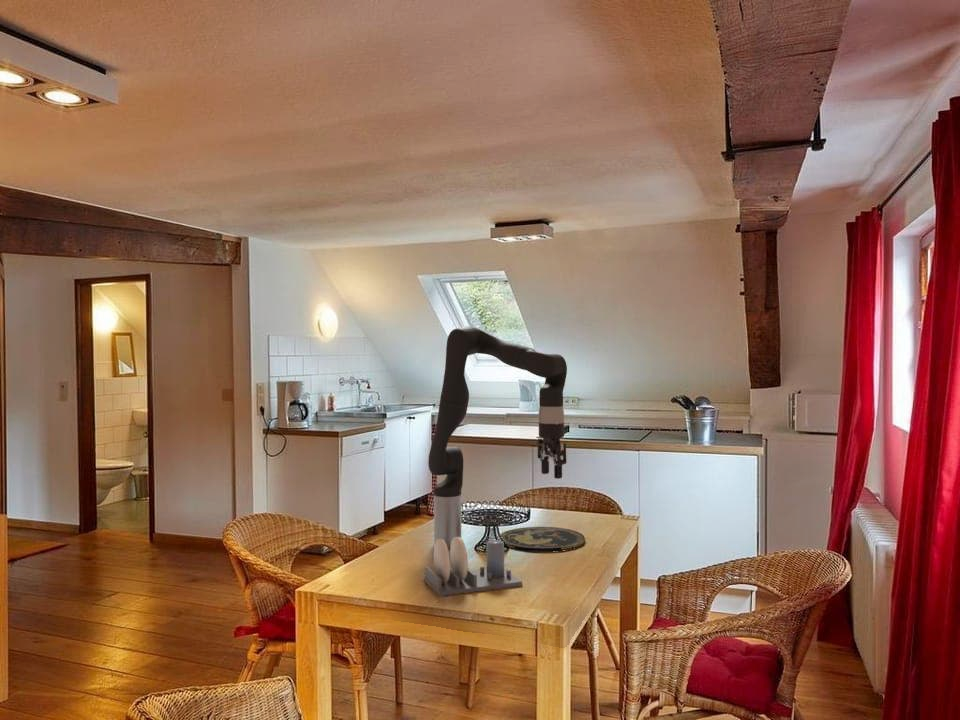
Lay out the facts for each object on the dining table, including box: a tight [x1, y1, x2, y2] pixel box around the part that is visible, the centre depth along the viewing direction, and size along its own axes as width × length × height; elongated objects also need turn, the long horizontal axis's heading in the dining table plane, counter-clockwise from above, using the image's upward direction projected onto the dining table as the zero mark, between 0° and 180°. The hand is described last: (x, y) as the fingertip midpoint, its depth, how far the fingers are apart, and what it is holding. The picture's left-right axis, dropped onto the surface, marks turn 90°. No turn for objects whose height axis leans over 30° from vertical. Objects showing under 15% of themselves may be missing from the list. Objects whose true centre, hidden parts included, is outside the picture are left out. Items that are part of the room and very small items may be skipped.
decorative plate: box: [499, 526, 586, 553], centre depth 247 cm, size 30×2×30 cm
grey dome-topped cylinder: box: [486, 539, 505, 578], centre depth 204 cm, size 5×5×10 cm
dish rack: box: [423, 537, 523, 597], centre depth 202 cm, size 15×24×13 cm, turn 111°
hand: (551, 475), depth 213 cm, fingers open, 8 cm apart
